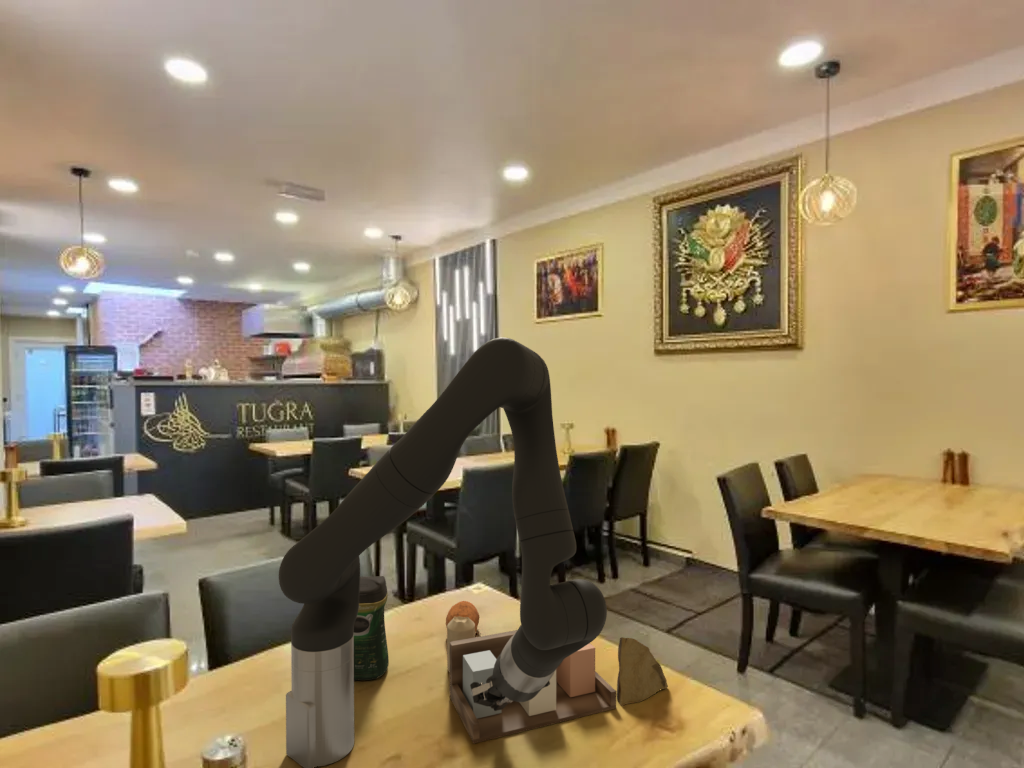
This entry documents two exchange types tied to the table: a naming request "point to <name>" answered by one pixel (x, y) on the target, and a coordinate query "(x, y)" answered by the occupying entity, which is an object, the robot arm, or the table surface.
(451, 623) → the candle
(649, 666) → the rock
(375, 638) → the coffee jar
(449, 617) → the potato
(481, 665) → the grey blue block
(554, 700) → the cream rectangular block
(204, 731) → the table surface
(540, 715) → the tray
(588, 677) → the key terracotta
